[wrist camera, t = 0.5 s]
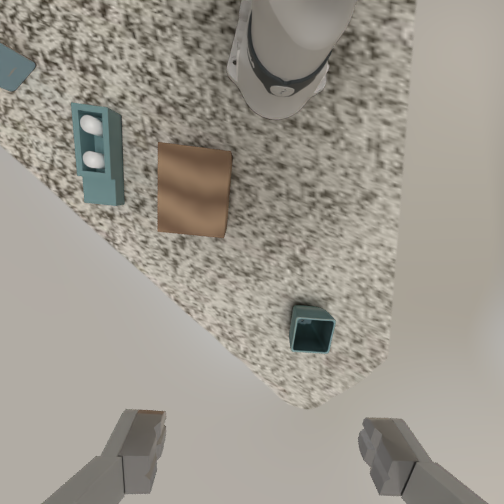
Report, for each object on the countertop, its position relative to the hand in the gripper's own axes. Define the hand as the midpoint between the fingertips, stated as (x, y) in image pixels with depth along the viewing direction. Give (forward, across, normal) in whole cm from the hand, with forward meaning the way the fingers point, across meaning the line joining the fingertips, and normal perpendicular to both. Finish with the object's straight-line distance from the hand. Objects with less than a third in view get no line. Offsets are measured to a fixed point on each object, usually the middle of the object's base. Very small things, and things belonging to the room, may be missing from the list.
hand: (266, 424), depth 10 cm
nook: (+45, +10, -6) cm, 47 cm away
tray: (+45, +29, -13) cm, 55 cm away
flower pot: (+45, -17, +21) cm, 53 cm away
